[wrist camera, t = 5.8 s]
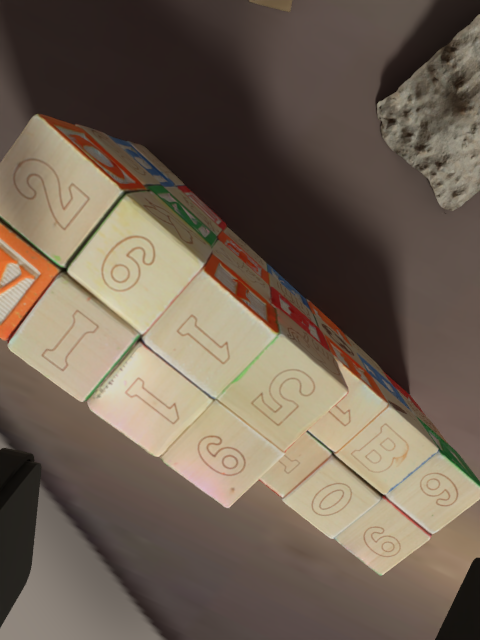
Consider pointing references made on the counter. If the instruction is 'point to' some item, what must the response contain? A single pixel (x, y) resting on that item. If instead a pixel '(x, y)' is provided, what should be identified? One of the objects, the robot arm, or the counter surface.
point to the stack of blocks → (208, 347)
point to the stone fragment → (441, 119)
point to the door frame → (275, 4)
